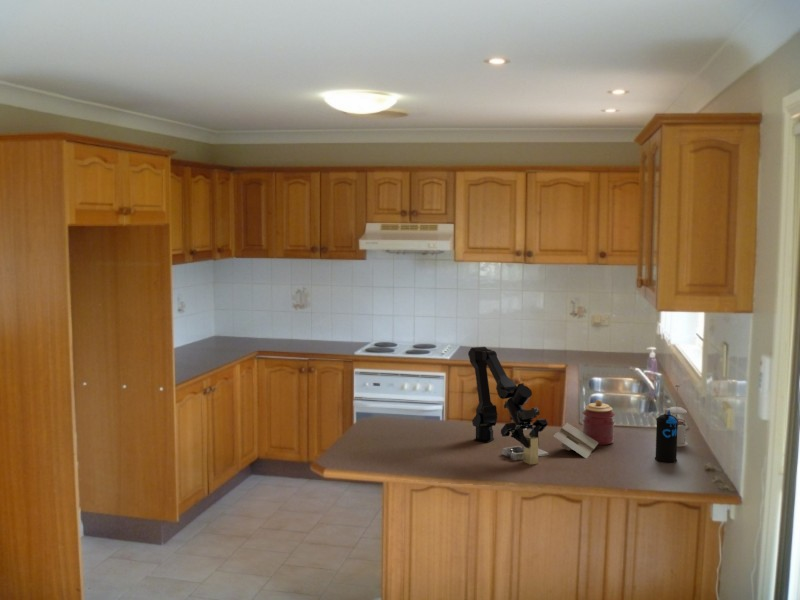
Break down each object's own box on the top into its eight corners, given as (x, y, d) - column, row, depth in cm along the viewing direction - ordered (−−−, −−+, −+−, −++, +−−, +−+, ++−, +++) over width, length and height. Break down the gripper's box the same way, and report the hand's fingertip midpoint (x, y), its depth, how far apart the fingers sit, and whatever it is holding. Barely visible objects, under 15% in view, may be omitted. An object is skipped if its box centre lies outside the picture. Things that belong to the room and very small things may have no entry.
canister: (618, 440, 332) (619, 399, 330) (606, 447, 322) (607, 404, 320) (589, 435, 340) (590, 394, 338) (576, 441, 329) (577, 400, 327)
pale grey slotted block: (586, 454, 325) (559, 428, 328) (599, 442, 320) (572, 415, 323) (572, 471, 311) (545, 444, 315) (586, 458, 306) (558, 431, 310)
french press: (670, 447, 322) (672, 386, 319) (656, 439, 333) (658, 381, 331) (692, 445, 324) (694, 385, 321) (677, 438, 335) (679, 380, 332)
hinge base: (513, 460, 303) (513, 452, 303) (501, 454, 311) (501, 446, 311) (549, 455, 310) (549, 447, 310) (536, 449, 318) (536, 441, 318)
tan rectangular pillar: (523, 461, 302) (523, 436, 301) (531, 460, 304) (531, 435, 303) (529, 464, 298) (530, 439, 297) (537, 463, 300) (538, 438, 299)
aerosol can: (650, 457, 307) (651, 407, 305) (667, 455, 310) (669, 405, 308) (664, 464, 300) (666, 412, 298) (681, 461, 302) (683, 410, 300)
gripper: (505, 403, 298) (521, 438, 290) (545, 398, 306) (562, 432, 298) (493, 418, 306) (509, 453, 297) (533, 413, 314) (549, 447, 305)
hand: (533, 446), depth 299 cm, fingers open, 4 cm apart
